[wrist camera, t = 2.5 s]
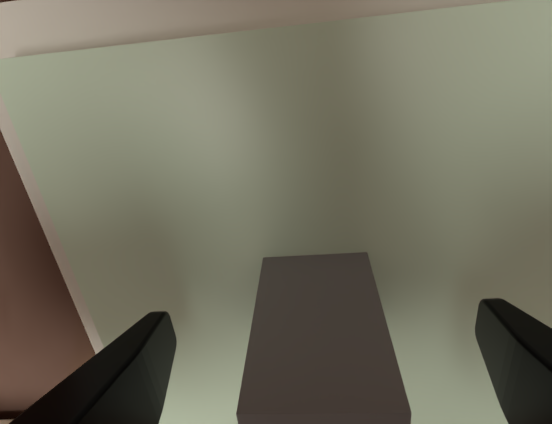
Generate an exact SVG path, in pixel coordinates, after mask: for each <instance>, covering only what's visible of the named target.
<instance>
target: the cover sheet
mask: <svg viewBox="0 0 552 424" xmlns="http://www.w3.org/2000/svg"><path fill="white" fill-rule="evenodd" d="M0 94H1V97H2V99H3V102H4V104H5V106H6V109H7V111H8V114H9V116H10V119H11V121H12V124H13V126H14V129H15V131H16V133H17V136H18V138H19V141H20V143H21V146H22V148H23V151H24V153H25V155H26V158H27V160H28V163H29V165H30V168H31V170H32V173H33V175H34V178H35V180H36V182H37V185H38V187H39V190H40V192H41V195H42V197H43V200H44V202H45V205H46V207H47V209H48V212H49V214H50V217H51V219H52V222H53V224H54V227H55V229H56V232H57V234H58V236H59V239H60V241H61V244H62V246H63V249H64V251H65V254H66V256H67V259H68V261H69V263H70V266H71V268H72V271H73V273H74V276H75V278H76V281H77V283H78V286H79V288H80V290H81V293H82V295H83V298H84V300H85V303H86V305H87V308H88V310H89V313H90V315H91V317H92V320H93V322H94V325H95V327H96V330H97V332H98V335H99V337H100V340H101V342H102V344H103V347H104V348H105V347H106V346H107V345H109V344H110V343H111V342H112V341H114V340H115V339H116V338H117V337H119V336H120V335H121V334H122V333H124V332H125V331H126V330H127V329H129V328H130V327H131V326H133V325H134V324H135V323H136V322H138V321H139V320H140V319H141V318H143V317H144V316H145V315H146V314H148V313H149V312H153V311H166V312H168V313H169V315H170V317H171V321H172V324H173V328H174V331H175V335H176V339H177V345H176V351H175V356H174V361H173V365H172V370H171V375H170V379H169V384H168V389H167V393H166V398H165V403H164V407H163V411H162V414H161V418H160V421H159V424H508V422H507V420H506V418H505V416H504V413H503V411H502V409H501V407H500V404H499V401H498V399H497V396H496V393H495V390H494V388H493V385H492V382H491V379H490V376H489V374H488V371H487V368H486V365H485V362H484V359H483V357H482V354H481V351H480V348H479V345H478V343H477V340H476V336H475V324H476V317H477V311H478V305H479V302H480V300H482V299H486V298H501V299H504V300H506V301H507V302H509V303H511V304H512V305H514V306H516V307H517V308H519V309H521V310H522V311H524V312H526V313H527V314H529V315H531V316H532V317H534V318H536V319H537V320H539V321H540V322H542V323H544V324H545V325H547V326H549V327H550V328H552V0H509V1H500V2H491V3H483V4H474V5H465V6H456V7H448V8H439V9H430V10H422V11H413V12H404V13H395V14H387V15H378V16H369V17H360V18H352V19H343V20H334V21H325V22H317V23H308V24H299V25H291V26H282V27H273V28H264V29H256V30H247V31H238V32H229V33H221V34H212V35H203V36H194V37H186V38H177V39H168V40H160V41H151V42H142V43H133V44H125V45H116V46H107V47H98V48H90V49H81V50H72V51H63V52H55V53H46V54H37V55H28V56H20V57H11V58H3V59H0Z"/></svg>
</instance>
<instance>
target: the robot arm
mask: <svg viewBox="0 0 552 424" xmlns="http://www.w3.org/2000/svg"><path fill="white" fill-rule="evenodd" d="M475 336H476V340H477V343H478V345H479V348H480V351H481V354H482V357H483V359H484V362H485V365H486V368H487V371H488V374H489V376H490V379H491V382H492V385H493V388H494V390H495V393H496V396H497V399H498V401H499V404H500V407H501V409H502V411H503V413H504V416H505V418H506V420H507V422H508V424H552V328H550V327H549V326H547V325H545V324H544V323H542V322H540V321H539V320H537V319H536V318H534V317H532V316H531V315H529V314H527V313H526V312H524V311H522V310H521V309H519V308H517V307H516V306H514V305H512V304H511V303H509V302H507V301H506V300H504V299H501V298H486V299H482V300H480V302H479V305H478V311H477V317H476V324H475ZM176 345H177V339H176V335H175V331H174V328H173V324H172V321H171V317H170V315H169V313H168V312H166V311H153V312H149V313H148V314H146V315H145V316H144V317H143V318H141V319H140V320H139V321H138V322H136V323H135V324H134V325H133V326H131V327H130V328H129V329H127V330H126V331H125V332H124V333H122V334H121V335H120V336H119V337H117V338H116V339H115V340H114V341H112V342H111V343H110V344H109V345H107V346H106V347H105V348H103V349H102V350H101V351H100V352H98V353H97V354H96V355H95V356H93V357H92V358H91V359H90V360H88V361H87V362H86V363H84V364H83V365H82V366H81V367H79V368H78V369H77V370H76V371H74V372H73V373H72V374H71V375H69V376H68V377H67V378H66V379H64V380H63V381H62V382H60V383H59V384H58V385H57V386H55V387H54V388H53V389H52V390H50V391H49V392H48V393H47V394H45V395H44V396H43V397H41V398H40V399H39V400H38V401H36V402H35V403H34V404H33V405H31V406H30V407H29V408H28V409H26V410H25V411H24V412H22V413H21V414H20V415H19V416H17V417H16V418H15V419H14V420H12V421H11V422H10V423H9V424H159V421H160V418H161V414H162V411H163V407H164V403H165V398H166V393H167V389H168V384H169V379H170V375H171V370H172V365H173V361H174V356H175V351H176Z"/></svg>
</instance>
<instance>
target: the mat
mask: <svg viewBox="0 0 552 424" xmlns="http://www.w3.org/2000/svg"><path fill="white" fill-rule="evenodd" d="M500 1H509V0H17V1H9V2H2V3H0V59H3V58H11V57H20V56H28V55H37V54H46V53H55V52H63V51H72V50H81V49H90V48H98V47H107V46H116V45H125V44H133V43H142V42H151V41H160V40H168V39H177V38H186V37H194V36H203V35H212V34H221V33H229V32H238V31H247V30H256V29H264V28H273V27H282V26H291V25H299V24H308V23H317V22H325V21H334V20H343V19H352V18H360V17H369V16H378V15H387V14H395V13H404V12H413V11H422V10H430V9H439V8H448V7H456V6H465V5H474V4H483V3H491V2H500ZM0 130H1V132H2V134H3V137H4V139H5V142H6V144H7V146H8V149H9V151H10V153H11V156H12V158H13V160H14V163H15V165H16V167H17V170H18V172H19V174H20V177H21V179H22V182H23V184H24V186H25V189H26V191H27V193H28V196H29V198H30V200H31V203H32V205H33V207H34V210H35V212H36V215H37V217H38V219H39V222H40V224H41V226H42V229H43V231H44V233H45V236H46V238H47V240H48V243H49V245H50V248H51V250H52V252H53V255H54V257H55V259H56V262H57V264H58V266H59V269H60V271H61V273H62V276H63V278H64V281H65V283H66V285H67V288H68V290H69V292H70V295H71V297H72V299H73V302H74V304H75V306H76V309H77V311H78V314H79V316H80V318H81V321H82V323H83V325H84V328H85V330H86V332H87V335H88V337H89V339H90V342H91V344H92V346H93V349H94V351H95V354H97V353H98V352H100V351H101V350H102V349H103V348H104V347H103V344H102V342H101V340H100V337H99V335H98V332H97V330H96V327H95V325H94V322H93V320H92V317H91V315H90V313H89V310H88V308H87V305H86V303H85V300H84V298H83V295H82V293H81V290H80V288H79V286H78V283H77V281H76V278H75V276H74V273H73V271H72V268H71V266H70V263H69V261H68V259H67V256H66V254H65V251H64V249H63V246H62V244H61V241H60V239H59V236H58V234H57V232H56V229H55V227H54V224H53V222H52V219H51V217H50V214H49V212H48V209H47V207H46V205H45V202H44V200H43V197H42V195H41V192H40V190H39V187H38V185H37V182H36V180H35V178H34V175H33V173H32V170H31V168H30V165H29V163H28V160H27V158H26V155H25V153H24V151H23V148H22V146H21V143H20V141H19V138H18V136H17V133H16V131H15V129H14V126H13V124H12V121H11V119H10V116H9V114H8V111H7V109H6V106H5V104H4V102H3V99H2V97H1V94H0Z"/></svg>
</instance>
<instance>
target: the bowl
mask: <svg viewBox="0 0 552 424" xmlns="http://www.w3.org/2000/svg"><path fill="white" fill-rule="evenodd" d="M12 420H14V419H2V420H0V424H9V423H10V422H11V421H12Z"/></svg>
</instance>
